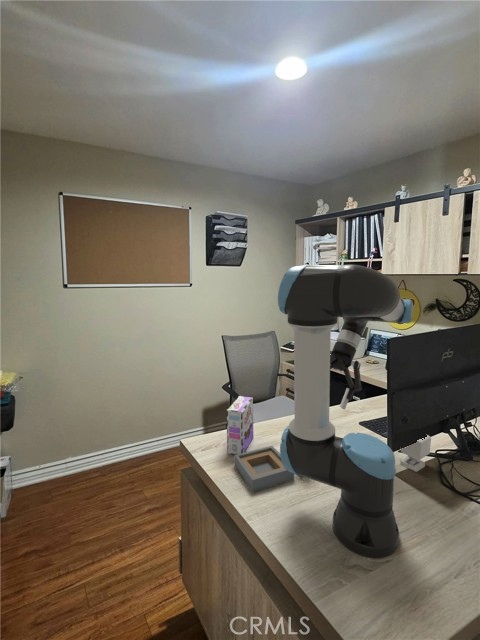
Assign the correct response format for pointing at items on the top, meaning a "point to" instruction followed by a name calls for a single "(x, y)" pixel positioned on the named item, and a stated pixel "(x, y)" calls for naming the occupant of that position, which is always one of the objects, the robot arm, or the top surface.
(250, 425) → the candy box
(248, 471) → the bore box
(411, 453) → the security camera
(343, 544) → the robot arm
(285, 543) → the top surface
